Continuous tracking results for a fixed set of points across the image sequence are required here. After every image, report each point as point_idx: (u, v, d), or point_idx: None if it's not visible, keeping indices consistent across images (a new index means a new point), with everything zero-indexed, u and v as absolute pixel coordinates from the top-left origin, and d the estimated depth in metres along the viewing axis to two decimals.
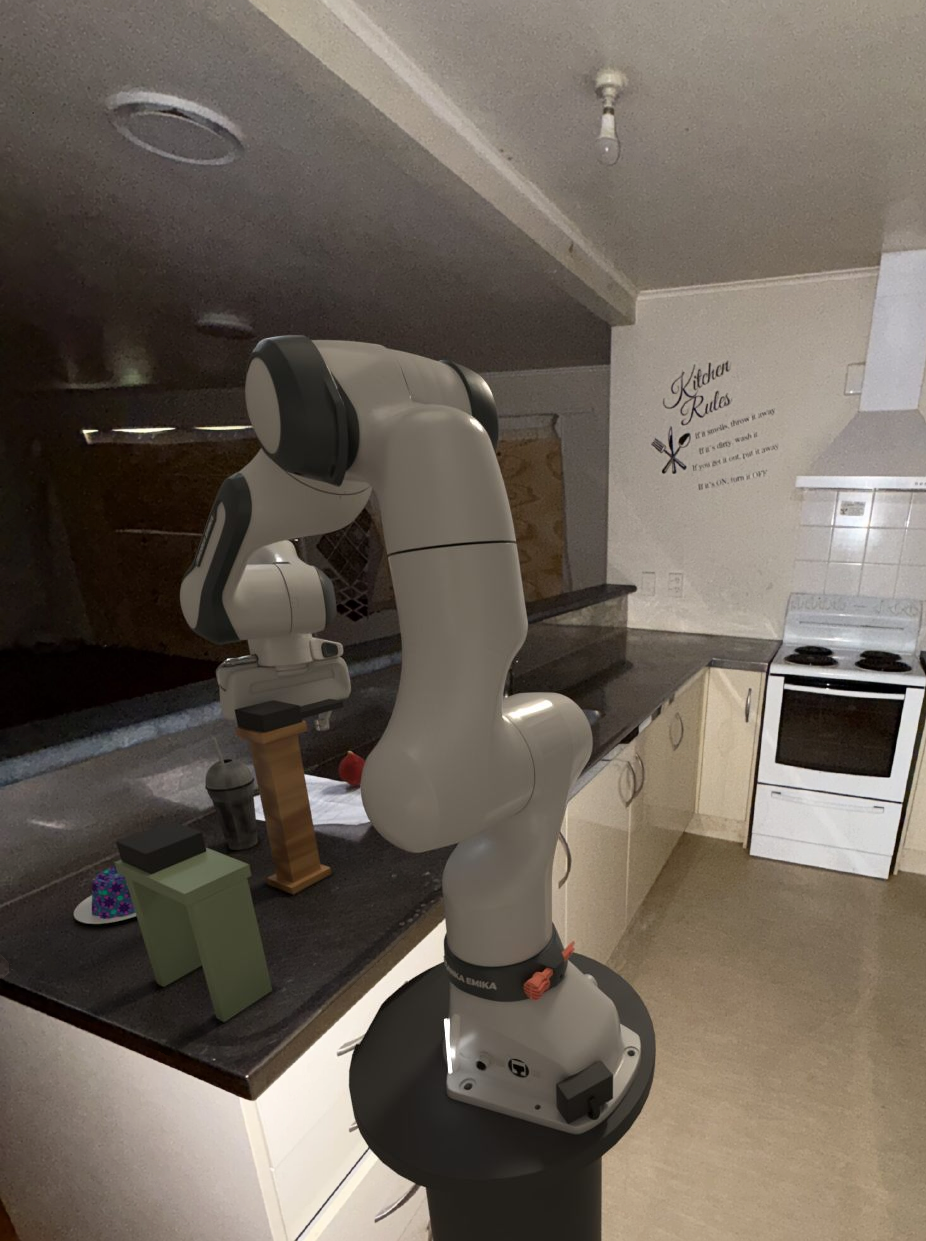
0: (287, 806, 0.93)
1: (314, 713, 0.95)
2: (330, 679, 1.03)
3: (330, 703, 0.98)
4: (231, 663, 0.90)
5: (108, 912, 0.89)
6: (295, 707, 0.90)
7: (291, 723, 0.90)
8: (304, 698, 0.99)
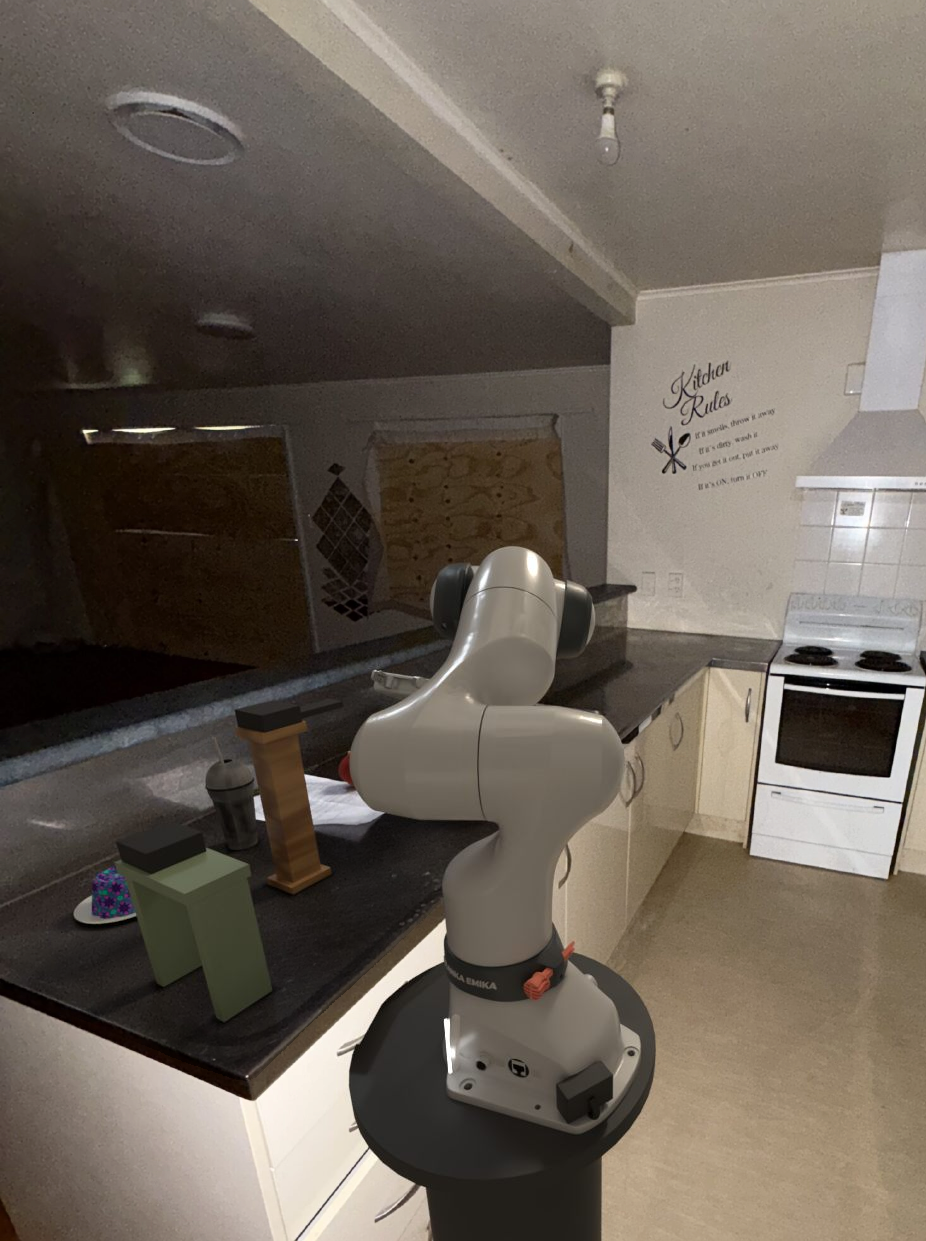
0: (287, 806, 0.93)
1: (314, 713, 0.95)
2: None
3: (330, 703, 0.98)
4: None
5: (108, 912, 0.89)
6: (295, 707, 0.90)
7: (291, 723, 0.90)
8: None
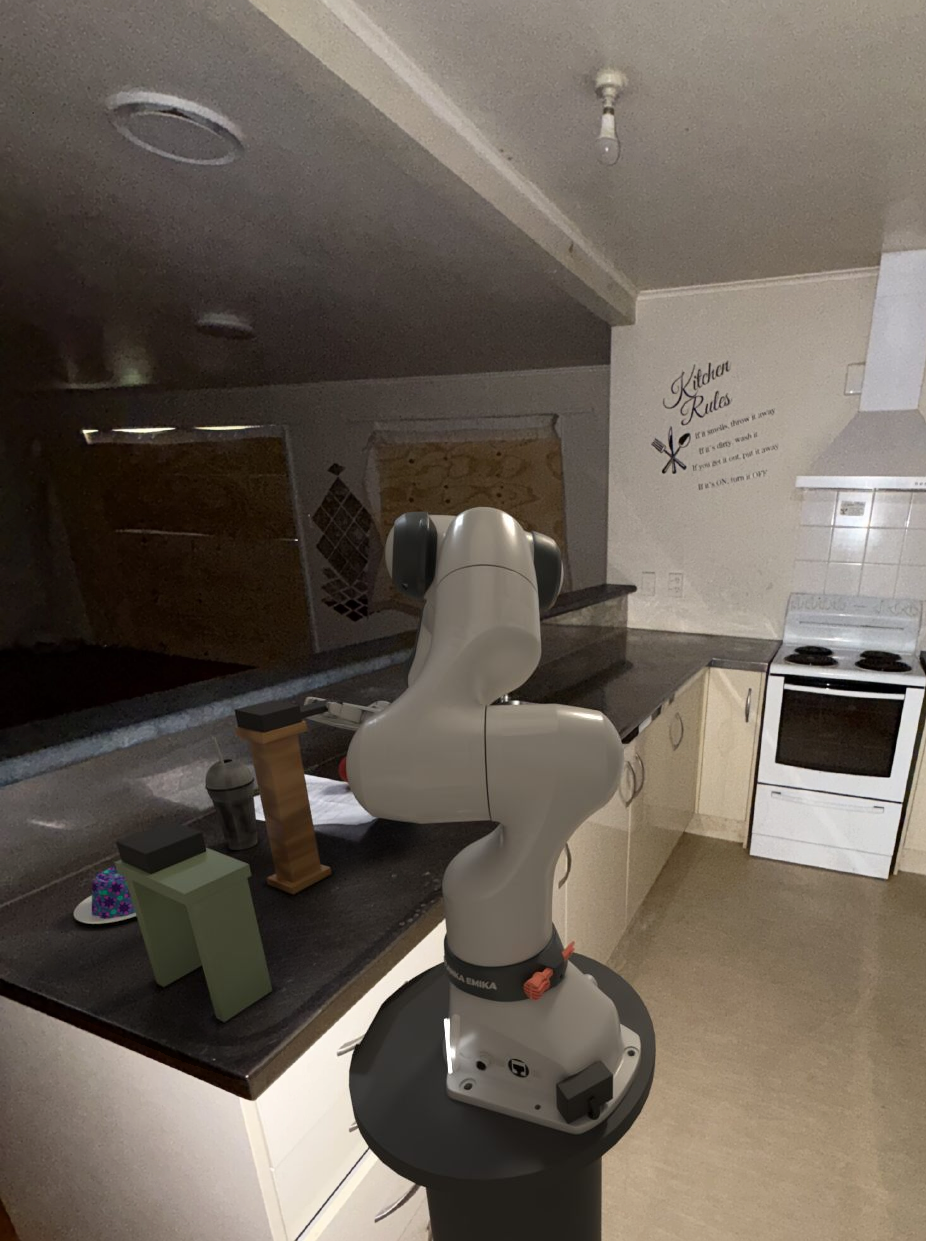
0: (287, 806, 0.93)
1: (314, 713, 0.95)
2: None
3: None
4: None
5: (108, 912, 0.89)
6: (295, 707, 0.90)
7: (291, 723, 0.90)
8: None
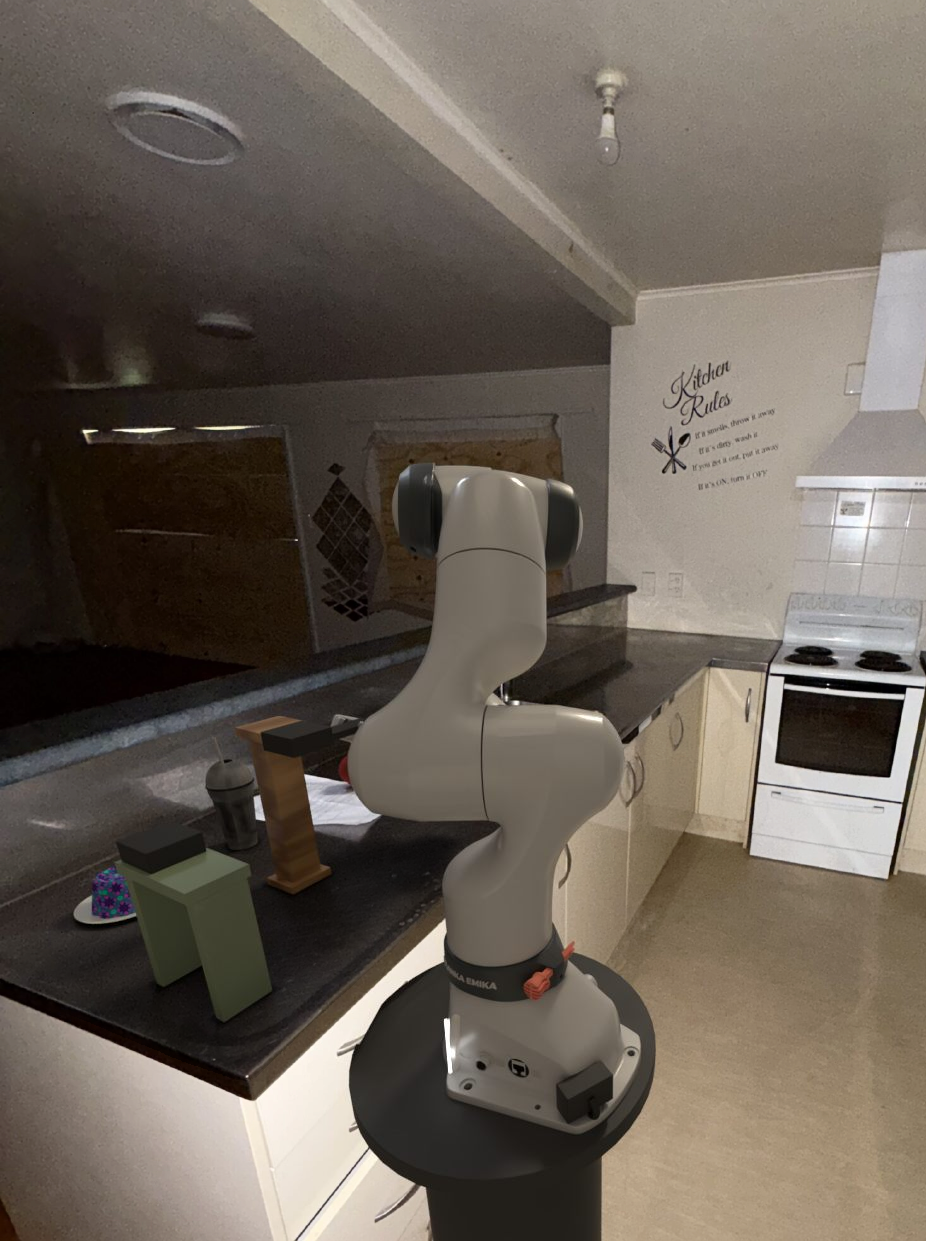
0: (287, 806, 0.93)
1: (346, 734, 0.87)
2: None
3: None
4: None
5: (108, 912, 0.89)
6: (327, 729, 0.82)
7: (322, 746, 0.82)
8: None
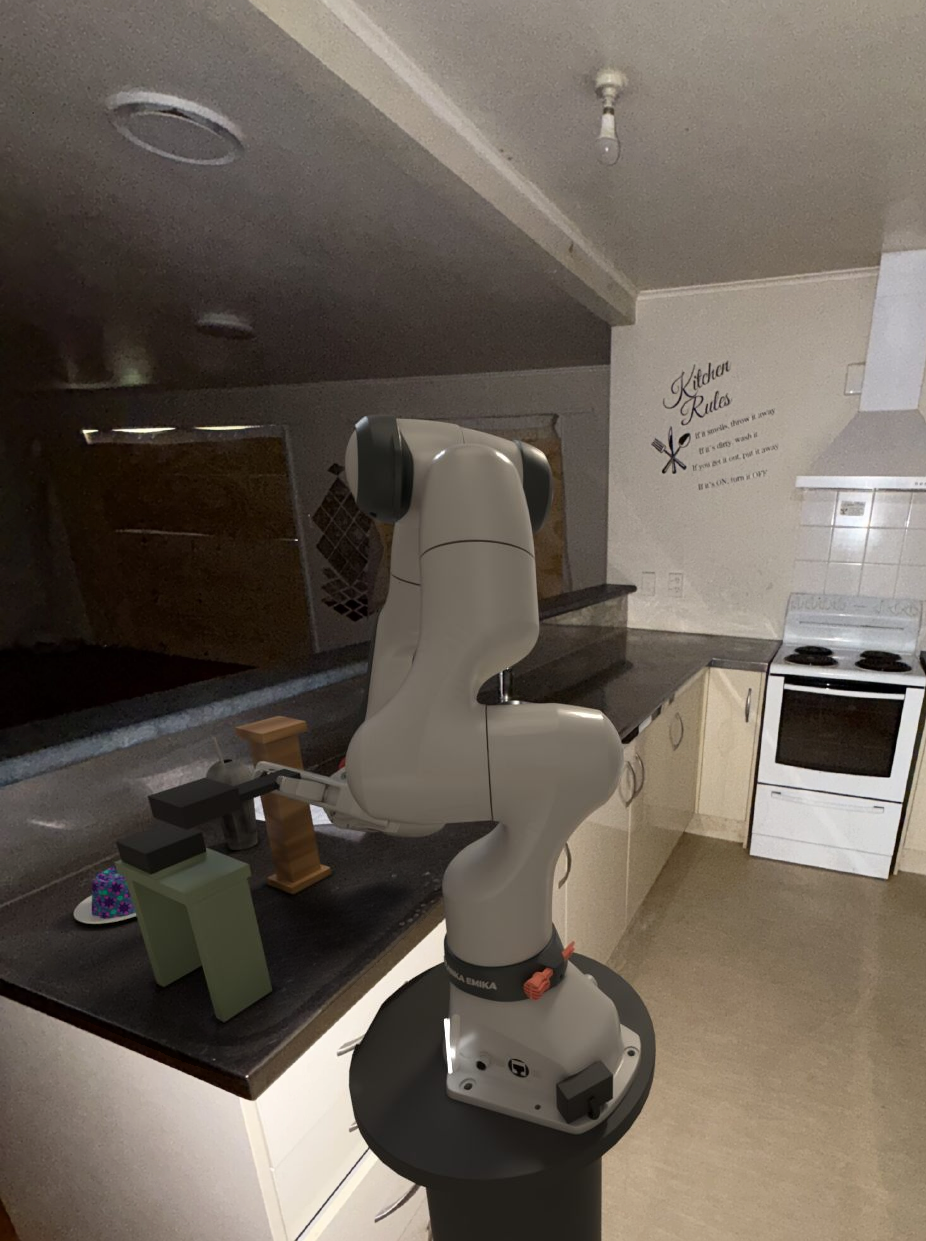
0: (287, 806, 0.93)
1: (260, 793, 0.72)
2: None
3: None
4: None
5: (108, 912, 0.89)
6: (231, 790, 0.67)
7: (226, 812, 0.67)
8: None
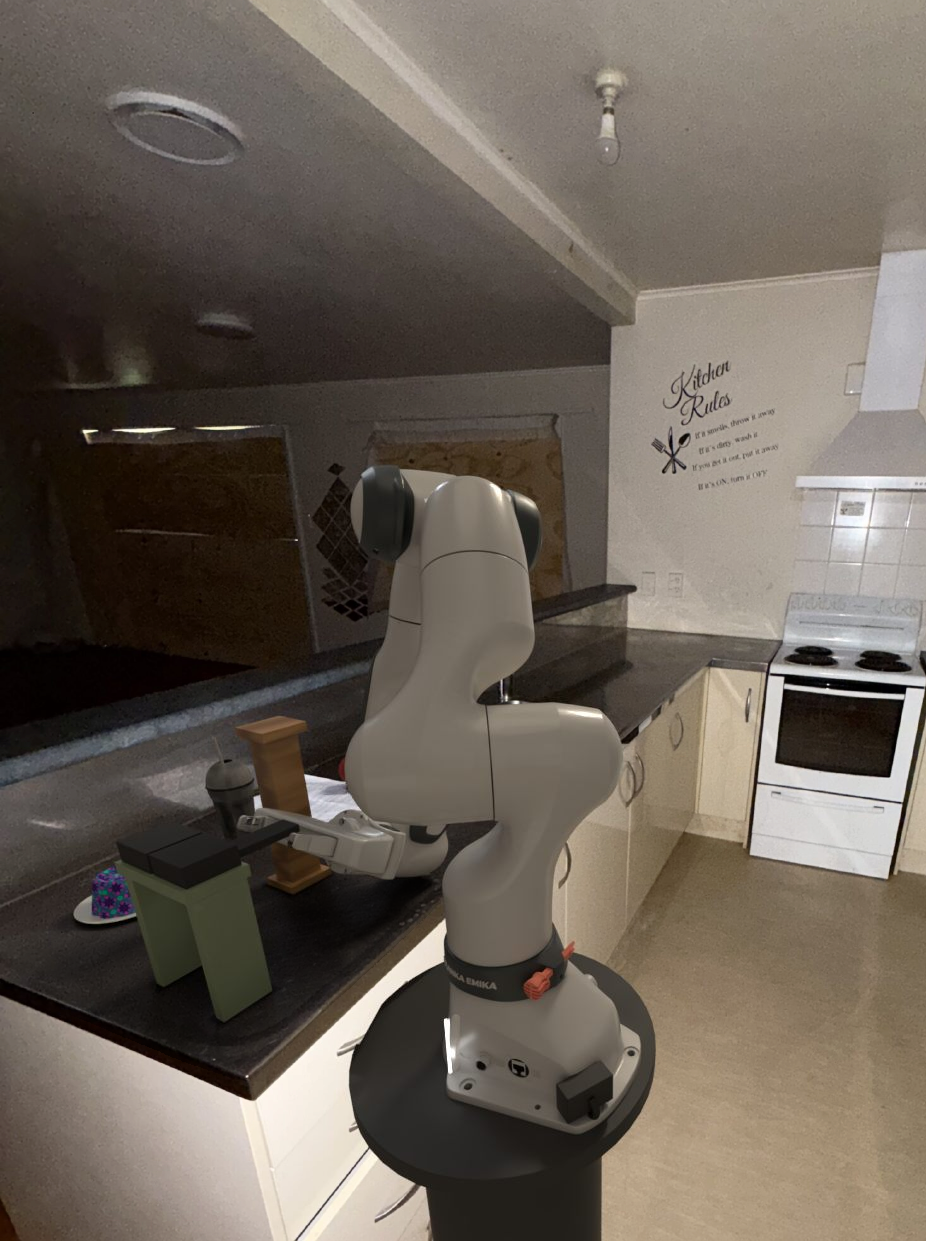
0: (287, 806, 0.93)
1: (259, 847, 0.73)
2: (361, 836, 0.80)
3: (282, 829, 0.76)
4: None
5: (108, 912, 0.89)
6: (230, 848, 0.69)
7: (225, 869, 0.68)
8: (320, 825, 0.80)
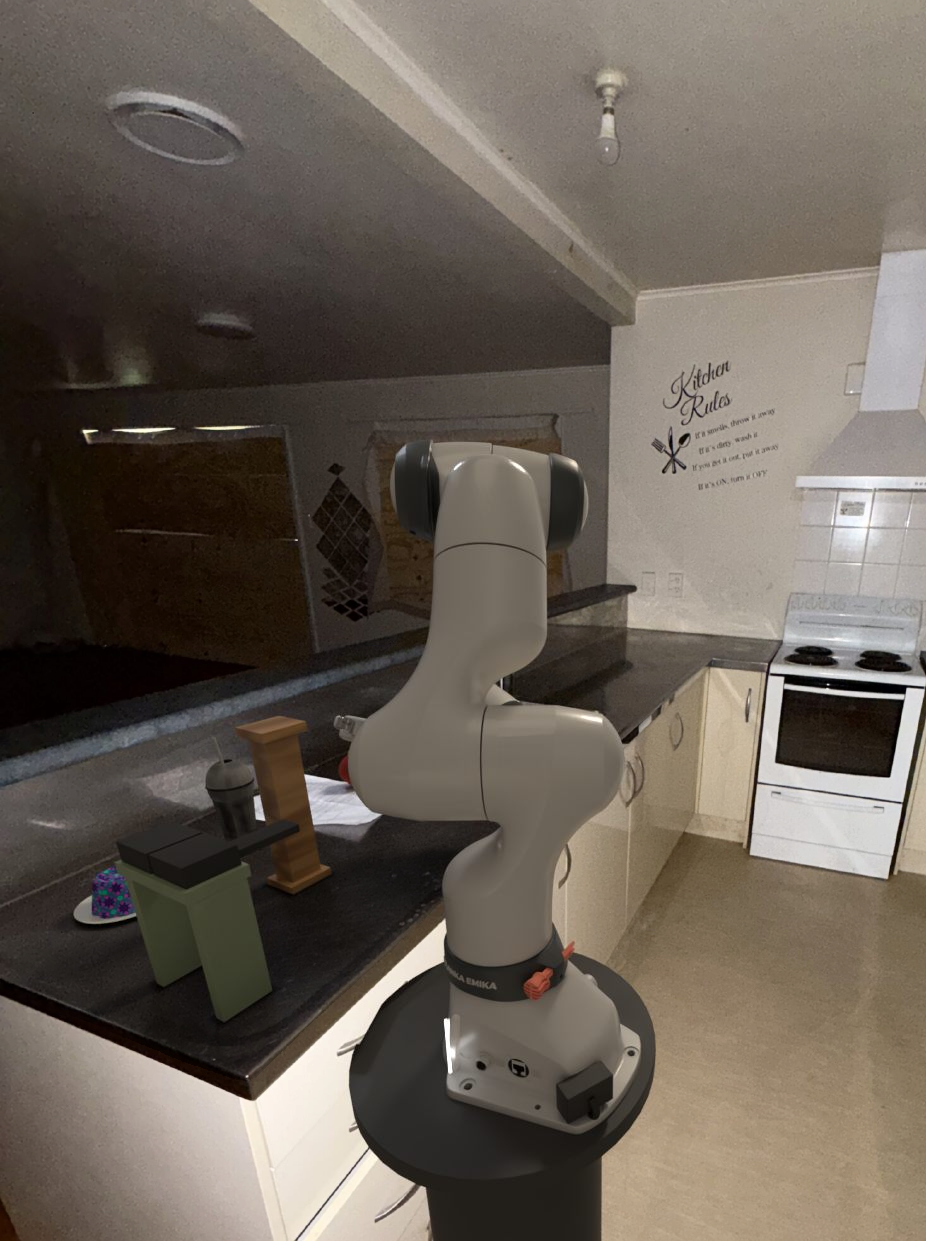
0: (287, 806, 0.93)
1: (259, 847, 0.73)
2: None
3: (282, 829, 0.76)
4: None
5: (108, 912, 0.89)
6: (230, 848, 0.69)
7: (225, 869, 0.68)
8: None
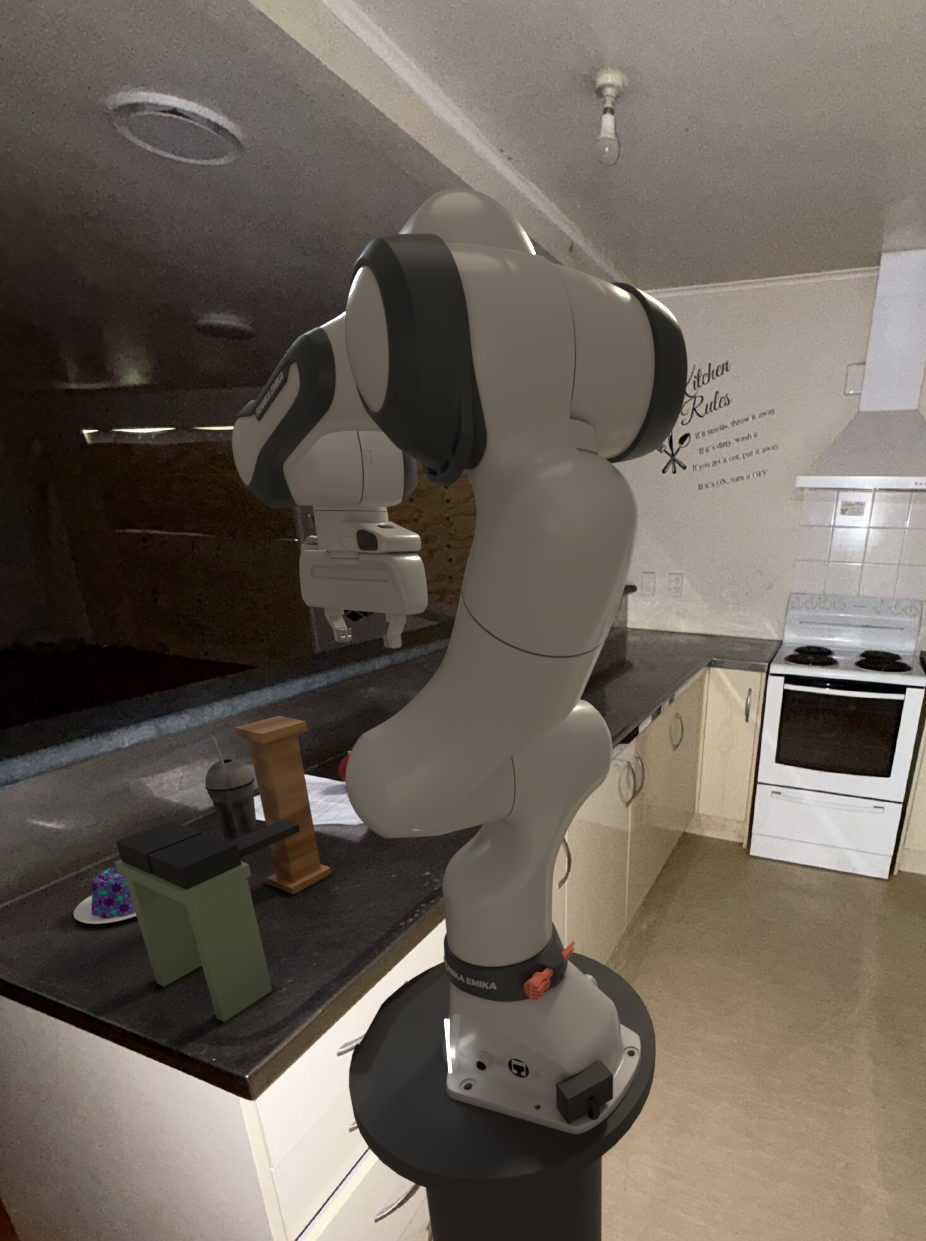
0: (287, 806, 0.93)
1: (259, 847, 0.73)
2: (384, 583, 0.79)
3: (282, 829, 0.76)
4: (307, 540, 0.84)
5: (108, 912, 0.89)
6: (230, 848, 0.69)
7: (225, 869, 0.68)
8: (357, 598, 0.82)
